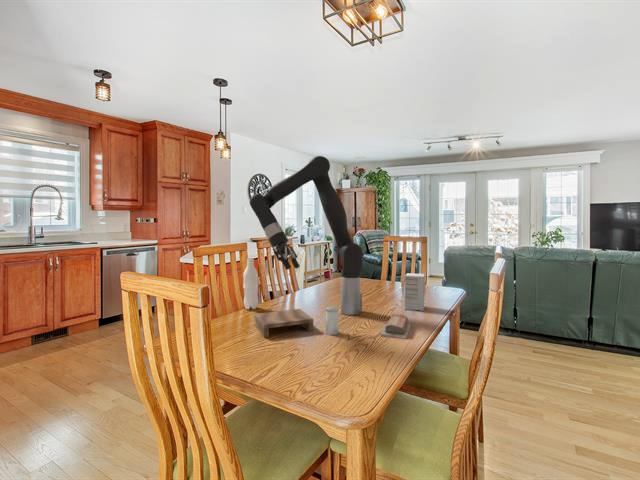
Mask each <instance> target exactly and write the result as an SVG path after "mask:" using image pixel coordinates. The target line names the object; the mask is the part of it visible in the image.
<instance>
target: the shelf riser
mask: <svg viewBox="0 0 640 480" xmlns="http://www.w3.org/2000/svg"><path fill="white" fill-rule="evenodd" d="M296 325H297V326H298V325H301V327H303V328H304V329H306V330H307V331H308V332H314V318H313V317H312V316H310V315H309V314H307V313H306V312H305V311H304V310H302V309H301V308H296V309H288V310H287V309H286V310H278V311H277V310H276V311H268V312H260V313H255V314H254V326H255V327H256V329H257V330H258V332H259V331H260V332H259V333H260V334H261V336H262V337H263V338H265V339H267V338H269V337H270V334H269V333H270V332H269V330H270V329H272V328H273V329H274V328H280V327H287V326H288V327H289V326H296Z"/></svg>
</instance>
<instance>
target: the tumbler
mask: <svg viewBox="0 0 640 480" xmlns="http://www.w3.org/2000/svg"><path fill="white" fill-rule="evenodd" d="M339 310H340V309H339V306H335V305H331V306H330V305H329V306H327V307H325V334H326V335H329V336H336V335H338V334H340V333H339V330H340V329H339V314H340V313H339Z"/></svg>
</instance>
